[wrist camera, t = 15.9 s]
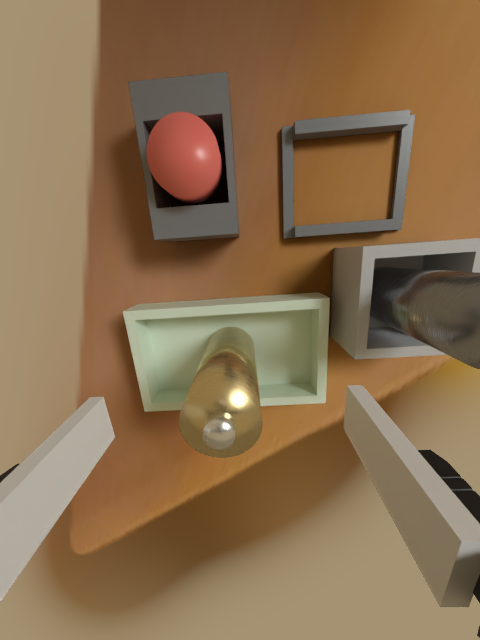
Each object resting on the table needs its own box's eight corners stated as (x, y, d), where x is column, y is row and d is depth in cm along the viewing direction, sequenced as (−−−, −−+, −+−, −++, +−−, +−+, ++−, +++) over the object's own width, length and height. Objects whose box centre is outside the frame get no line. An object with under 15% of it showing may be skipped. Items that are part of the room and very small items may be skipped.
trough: (138, 304, 21) (122, 311, 18) (318, 292, 21) (329, 298, 18) (155, 393, 24) (144, 411, 21) (316, 385, 23) (325, 402, 21)
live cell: (205, 327, 21) (168, 399, 11) (252, 325, 21) (261, 395, 11) (210, 370, 22) (180, 472, 12) (255, 368, 22) (265, 469, 12)
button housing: (143, 116, 17) (118, 82, 14) (230, 107, 17) (227, 71, 14) (162, 242, 20) (145, 240, 16) (239, 236, 19) (238, 233, 16)
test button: (153, 133, 15) (140, 115, 13) (219, 126, 15) (215, 108, 13) (164, 205, 16) (153, 199, 14) (225, 200, 16) (222, 193, 14)
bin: (334, 248, 19) (363, 246, 15) (430, 241, 19) (492, 237, 14) (330, 336, 22) (354, 359, 17) (416, 331, 21) (466, 353, 17)
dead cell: (362, 263, 19) (491, 270, 9) (415, 270, 19) (608, 284, 9) (349, 314, 20) (450, 371, 10) (399, 320, 20) (552, 385, 10)
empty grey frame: (281, 129, 17) (283, 121, 16) (412, 117, 17) (422, 108, 16) (283, 238, 19) (285, 237, 18) (398, 229, 19) (407, 228, 18)
